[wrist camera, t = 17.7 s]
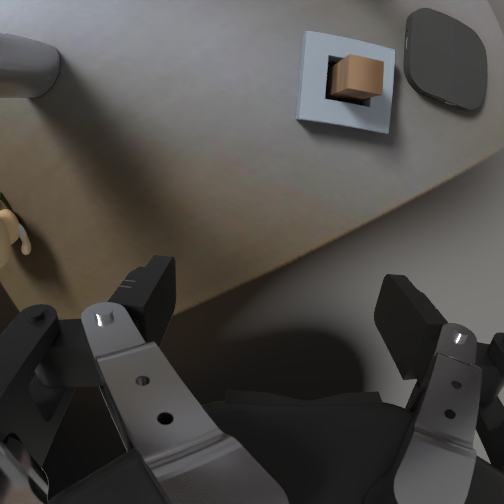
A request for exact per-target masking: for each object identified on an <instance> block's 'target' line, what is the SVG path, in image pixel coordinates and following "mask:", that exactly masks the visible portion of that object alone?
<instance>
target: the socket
mask: <svg viewBox="0 0 504 504" xmlns="http://www.w3.org/2000/svg"><path fill="white" fill-rule="evenodd" d="M349 54H352V55H357V56H362V57H366V58H371V59H375V60H379V61H383V62H384V75H383V92H382V95H380V96H375V97H370V98H366V99H362V106H361V105H356V104H351V103H346V102H340V101H335V100H329V99H325V93H326V81H327V69H328V61H330V62H336V63H338V62H339V61H341V60H342V59H343V58H345V57H346V56H348V55H349ZM394 61H395V50H393V49H390V48H386V47H383V46H379V45H375V44H371V43H367V42H363V41H359V40H354V39H350V38H345V37H340V36H335V35H330V34H324V33H319V32H312V31H306V32H305V34H304V36H303V38H302V51H301V64H300V75H299V87H298V98H297V109H296V119H298V120H306V121H313V122H320V123H327V124H333V125H339V126H345V127H351V128H357V129H362V130H367V131H372V132H377V133H386V134H388V133H389V125H390V115H391V105H392V93H393V79H394Z"/></svg>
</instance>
